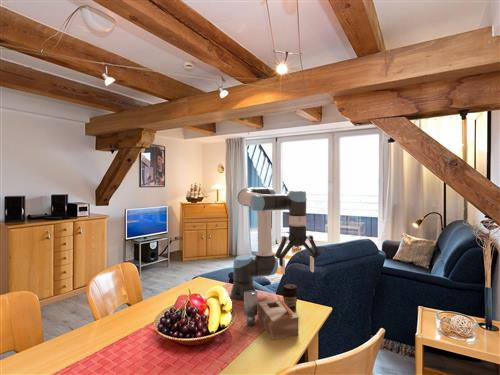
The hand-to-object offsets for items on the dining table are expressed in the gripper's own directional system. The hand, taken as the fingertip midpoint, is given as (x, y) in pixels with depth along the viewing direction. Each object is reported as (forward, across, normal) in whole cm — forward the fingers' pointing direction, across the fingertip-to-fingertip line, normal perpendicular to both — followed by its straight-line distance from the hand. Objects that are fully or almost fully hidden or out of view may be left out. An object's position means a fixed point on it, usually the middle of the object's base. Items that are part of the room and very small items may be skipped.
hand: (297, 272), depth 124 cm
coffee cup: (+28, +4, +21) cm, 35 cm away
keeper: (+15, -6, +2) cm, 17 cm away
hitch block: (+27, -8, +7) cm, 29 cm away
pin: (+27, -19, +12) cm, 35 cm away
